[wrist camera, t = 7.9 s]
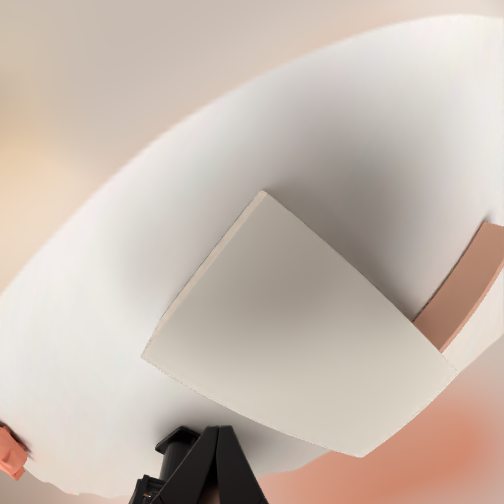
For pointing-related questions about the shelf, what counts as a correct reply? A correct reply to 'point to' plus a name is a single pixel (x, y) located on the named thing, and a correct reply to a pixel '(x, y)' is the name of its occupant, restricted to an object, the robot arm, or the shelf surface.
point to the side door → (464, 288)
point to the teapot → (11, 454)
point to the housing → (297, 338)
